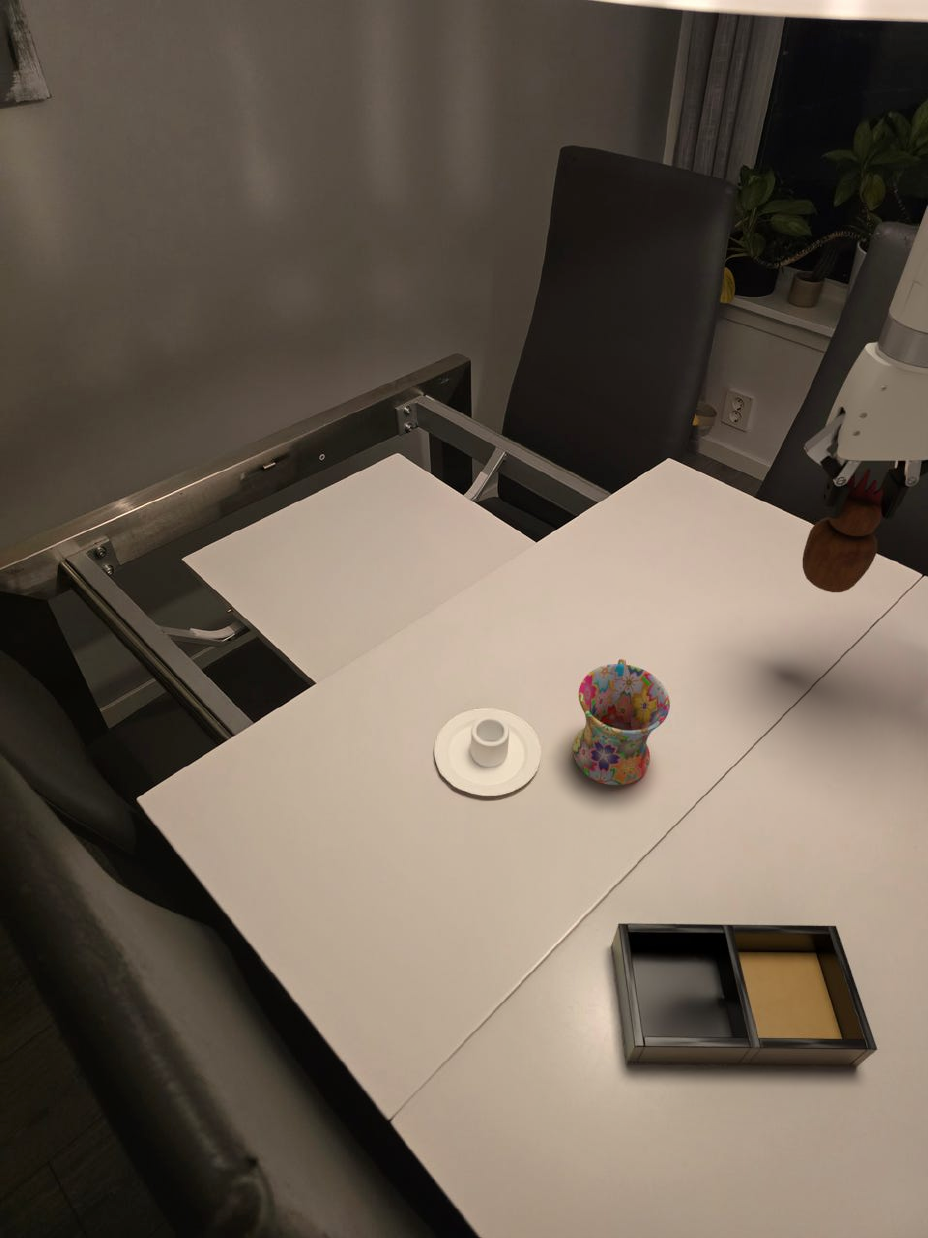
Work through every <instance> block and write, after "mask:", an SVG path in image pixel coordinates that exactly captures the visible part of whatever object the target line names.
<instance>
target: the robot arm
mask: <svg viewBox="0 0 928 1238" xmlns="http://www.w3.org/2000/svg"><path fill="white" fill-rule="evenodd" d="M836 442H837V444H838V446H837V449H836V450H835V451H834V453H833V454H832V453H831V452H830V451H829V450H828V449H829V448H830V447H831V446H832V445H834V443H836ZM803 449H804V450H805V452H806V454H807V456H808V457H810V458H811V460H813V461H814V462H815V463H816V464H818V465H819V466H820V467H822V469H823V470H824V472H826V474H827V479H826V481H825V484H824V486H823V489H822V492H821V494H820V504H821V507H823V508H824V509H825V511H826V513H827V516H828V515H829V517H830V519H837V518H839V516H840V513H841V511H842V508H843V506H844V503H845V501H846V498H847V496H848V494H849V491H850V486H849V484H848V482H847V481H848V480H849V479H850V477H851V476H852V474H853V473H854V472H855V473H856V470H857V469H858V467H859V466H860V465H861V464H862V462H864V461H866V462H868V461H870V462H871V461H872V462H873V461H874V462H875V461H876V462H877V461H878V462H880V461H882V462H883V461H884V462H885V461H886V462H891V461H892V462H893V461H894V462H895V463H894V468H889V469H888V470H887V472H885V474H884V477H883V480H882V482H881V484H880V486H879V489H880V488H883V493H882V499H881V503H880V504H881V506H882V518H884V519H885V520H892V519H893V518H894V516H895V514H896V511H897V509H898V508H900V507H901V505H902V503H903V501H904V499H905V496H906V494H907V492H908V490H909V488H910V487H913V486H915V485H917V484H918V482H919V480H920V478H922V476H924V475H926V474H927V473H928V205H927V206H926V209H925V211H924V214H923V217H922V220H921V222H920V225H919V228H918V231H917V233H916V236H915V237H914V241H913V244H912V247H911V249H910V251H909V254H908V256H907V260H906V263H905V265H904V268H903V270H902V274H901V276H900V279H899V282H898V283H897V286H896V289H895V292H894V295H893V298H892V301H891V303H890V306H889V308H888V311H887V314H886V316H885V319H884V321H883V325H882V327H881V330H880V333H879V336H878V338H877V341H876V342H868V343H867V344H865V346H864V348H862V350H861V351H860V353H859V355H858V356H857V358H856V360H855V361H854V363H853V365H852V367H851V368H850V370H849V371H848V374H847V376H846V377H845V379H844V382H843V383H842V386H841V388H840V390H839V392H838V395H837V396H836V398H835V401H834V403H833V406H832V408H831V411H830V413H829V416H828V417H827V420H826V423H825V427H823V428H822V429H820V431H818V432H817V433H816V434H814V435H813V437H811V438H810V439H809V440H808V441H806V442H805V443H804V445H803Z"/></svg>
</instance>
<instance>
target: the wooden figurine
mask: <svg viewBox="0 0 928 1238" xmlns="http://www.w3.org/2000/svg"><path fill="white" fill-rule="evenodd" d="M870 474H871V468H867V469H866V471H865V472H864V474H863V475H862V477H861V478H860V480H858V483H857V484H856V471H855V472H854V473H853V474H852V476H851V477H850V479H849V480H848V481H847V482H848V484H849V486H850V491H849V494H848V496H847V498H846V501H845V503H844V506H843V508H842V511H841V513H840V516H839V518H837V519H830V517H829V515H828V514H827V517H824V518H823V519H820V520H819V521H817V522H816V523H814V525H813V526H812V528H811V530H810V531H809V534H808V536H807V539H806V543H805V546H804V549H803V553H802V570H803V573H804V575H805V578H806V580H808V581H809V582H810V583H811V585H813V586H814V587H816V588H818V589H820V590H822V591H824V592H830V593H843V592H846V591H849V590H850V589H852V588H853V587H855V586H856V585H857V583H859V581H860V580H861V579H862V578H863V577H864V575H865V574H866V573H867V572H868V570H869V569H870V567H871V565H872V563H873V561H874V560H875V557H876V556H877V552H878V539H877V538H876V536H875V534H874V531H875V530H876V528H877V527H878V526H879V524H880V523H881V521H882V518H883V516H882V506H881V504H880V503H881V499H882V493H883V488H880V487H879V488H878V489H877V490H876V488H877V484H878V479H874V480H873V481H872V482H871V483H870V484H869V486H868V482H869V479H870ZM855 484H856V486H855ZM867 486H868V487H867Z"/></svg>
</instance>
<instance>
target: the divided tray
mask: <svg viewBox="0 0 928 1238" xmlns="http://www.w3.org/2000/svg"><path fill="white" fill-rule="evenodd" d="M837 927H838V926H837V925H812V924H811V925H809V924H808V925H803V924H797V925H796V924H795V925H794V924H724V923H723V924H720V923H719V924H714V923H713V924H711V923H709V924H708V923H707V924H706V923H638V922H637V923H632V922H631V923H630V922H629V923H620V922H619V923H618V924H617V927H616V930H615V934H614V936H613V939H612V942H611V944H610V945H611V952H612V953H611V954H612V961H613V969H614V976H615V985H616V993H617V1000H618V1009H619V1017H620V1026H621V1032H622V1041H623V1049H624V1056H625V1064H626V1065H645V1066H647V1065H654V1066H655V1065H656V1066H725V1067H726V1066H727V1067H728V1066H732V1067H735V1066H737V1067H748V1066H749V1067H815V1068H817V1067H818V1068H857V1067H859V1066H860V1065H861V1064H863V1063H864V1062H865V1061H866V1060H867V1059H868V1058H870V1057H871V1056H872V1055H873V1054H874V1053H875V1052H876V1051H878V1047H877V1044H876V1041H875V1038H874V1035H873V1032H872V1029H871V1025H870V1023H869V1019H868V1017H867V1014H866V1011H865V1009H864V1008H865V1007H864V1005H863V1002H862V999H861V996H860V993H859V991H858V987H857V984H856V981H855V978H854V975H853V973H852V969H851V966H850V964H849V961H848V957H847V955H846V951H845V948H844V945H843V943H842V939H841V937H840V933H839V930H838V928H837Z"/></svg>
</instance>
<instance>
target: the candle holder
mask: <svg viewBox="0 0 928 1238" xmlns="http://www.w3.org/2000/svg"><path fill="white" fill-rule="evenodd" d="M436 736H437V737H436V738H435V741H434V747H433V755H434V760H435V764H436V767H437V769H438V772H439V773H440V775H441V776H442V777H443V778H444V779H445V780H446V781H447V782H448V783H449V784H450V785H451V786H453V787H454V788H456V789H457V790H460V791H463V792H465V793H468V794H472V795H475V796H483V797H497V796H502V795H508V794H510V793H513V792H514V791H517V790H519V789H520V788H522V787H524V786H525V785H527V783H528V782H530V780H531V779H533V777H534V776H535V775H536V773H537V771H538V769H539V767H540V764H541V760H542V747H541V742H540V740H539V737H538V735H537V733H536V732H535V730H534V729H533V728H532V726H531V725H530V724H529V723H528V722H527V721H526V720H525V719H523V718H521V717H520V716H518V715H517V714H514V713H512V712H509V711H507V710H504V709H500V708H494V707H480V708H474V709H473V708H472V709H469V710H466V711H463V712H461V713H458V714H457V715H455V716H453V717H452V718H451V719H449V720H448V721H447V722H446V723H445V724H444V725H443V726H442V727H441V729H440V730H439V732H438V734H437V735H436Z"/></svg>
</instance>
